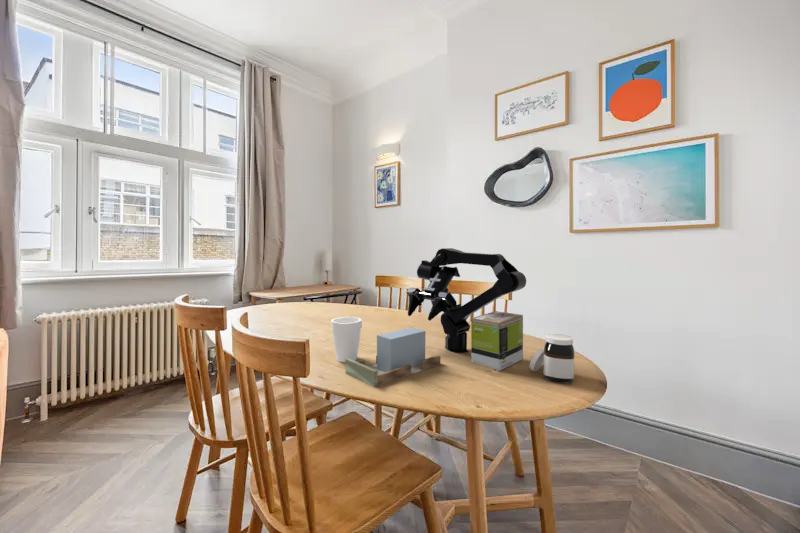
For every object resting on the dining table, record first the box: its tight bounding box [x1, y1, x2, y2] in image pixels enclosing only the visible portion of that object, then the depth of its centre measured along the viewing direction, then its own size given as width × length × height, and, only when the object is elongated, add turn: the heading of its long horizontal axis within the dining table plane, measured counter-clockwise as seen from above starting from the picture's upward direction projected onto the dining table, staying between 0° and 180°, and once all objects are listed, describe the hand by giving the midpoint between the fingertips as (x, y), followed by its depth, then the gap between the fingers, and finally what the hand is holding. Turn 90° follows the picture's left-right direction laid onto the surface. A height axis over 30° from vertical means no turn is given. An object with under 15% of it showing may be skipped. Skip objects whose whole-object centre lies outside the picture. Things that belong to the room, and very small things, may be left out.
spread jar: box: [529, 333, 575, 384], centre depth 99 cm, size 12×11×12 cm
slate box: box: [376, 326, 426, 372], centre depth 105 cm, size 14×6×10 cm, turn 132°
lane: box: [345, 354, 442, 388], centre depth 104 cm, size 26×25×5 cm
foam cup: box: [330, 316, 363, 363], centre depth 112 cm, size 10×9×13 cm
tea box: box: [470, 310, 524, 372], centre depth 111 cm, size 15×10×15 cm
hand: (418, 317), depth 117 cm, fingers open, 9 cm apart
